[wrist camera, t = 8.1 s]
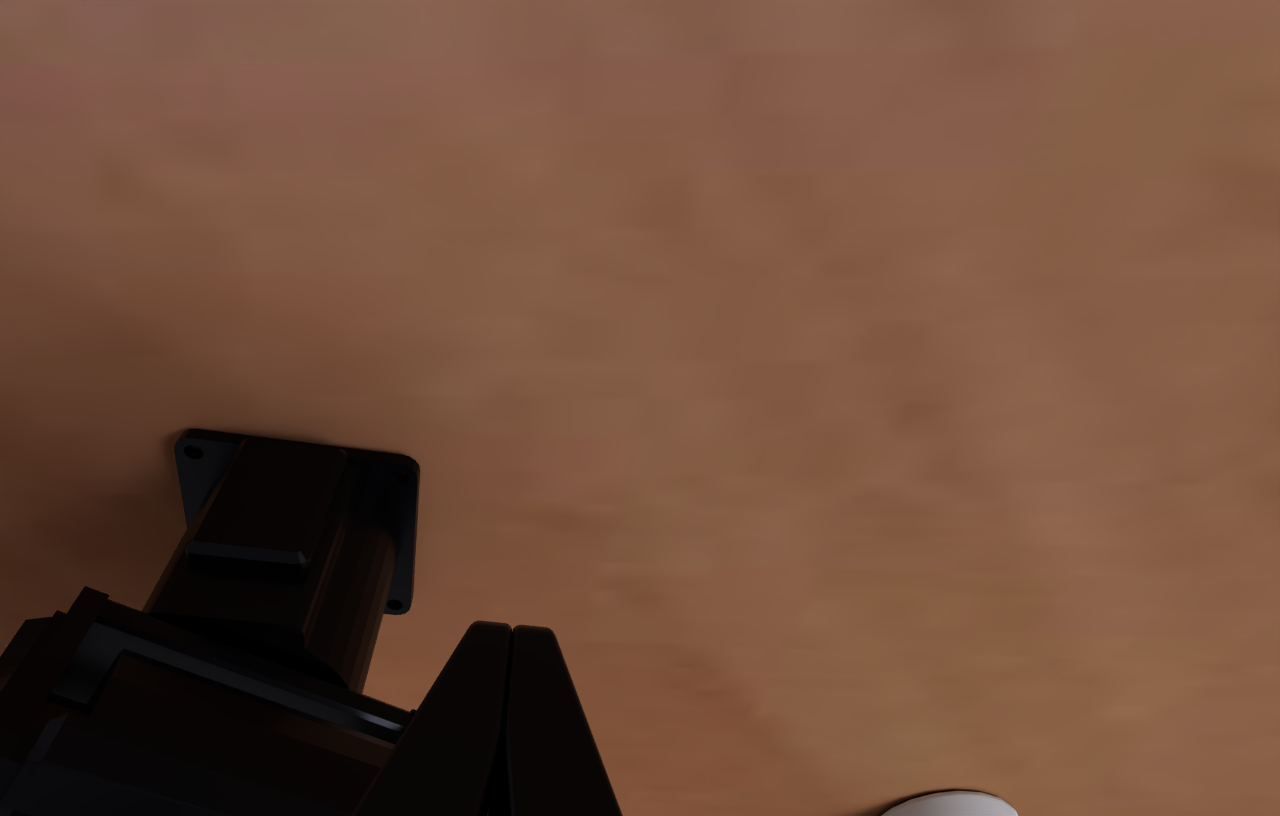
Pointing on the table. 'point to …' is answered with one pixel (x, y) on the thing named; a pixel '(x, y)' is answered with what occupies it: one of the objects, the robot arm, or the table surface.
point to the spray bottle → (953, 805)
